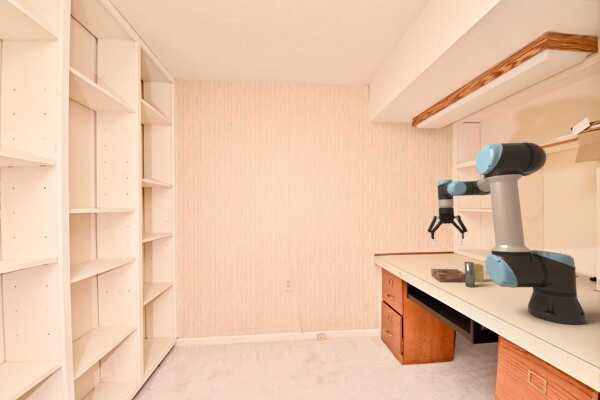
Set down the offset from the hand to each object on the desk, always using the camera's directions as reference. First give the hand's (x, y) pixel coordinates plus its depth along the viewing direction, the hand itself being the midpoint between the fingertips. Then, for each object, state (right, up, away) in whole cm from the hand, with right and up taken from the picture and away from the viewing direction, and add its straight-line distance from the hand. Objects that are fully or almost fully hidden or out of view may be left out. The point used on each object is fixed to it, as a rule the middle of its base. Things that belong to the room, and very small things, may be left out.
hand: (447, 244), depth 150 cm
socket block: (0, -19, -1) cm, 19 cm away
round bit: (+3, -18, -15) cm, 24 cm away
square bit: (+12, -19, -7) cm, 23 cm away
